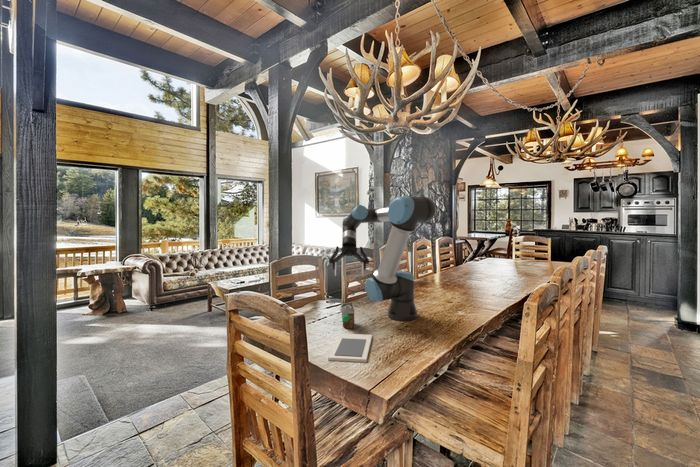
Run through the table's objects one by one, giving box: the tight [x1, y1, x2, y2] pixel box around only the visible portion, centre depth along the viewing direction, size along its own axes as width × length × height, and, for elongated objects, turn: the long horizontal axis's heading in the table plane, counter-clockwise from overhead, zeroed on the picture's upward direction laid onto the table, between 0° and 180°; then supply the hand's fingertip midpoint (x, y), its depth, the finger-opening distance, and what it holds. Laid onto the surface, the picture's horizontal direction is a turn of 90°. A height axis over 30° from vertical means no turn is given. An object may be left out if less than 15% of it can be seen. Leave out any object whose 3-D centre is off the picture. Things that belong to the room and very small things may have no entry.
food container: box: [339, 301, 355, 331], centre depth 156 cm, size 12×6×10 cm, turn 5°
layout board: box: [327, 333, 373, 363], centre depth 131 cm, size 14×24×1 cm, turn 171°
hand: (349, 274), depth 163 cm, fingers open, 13 cm apart
